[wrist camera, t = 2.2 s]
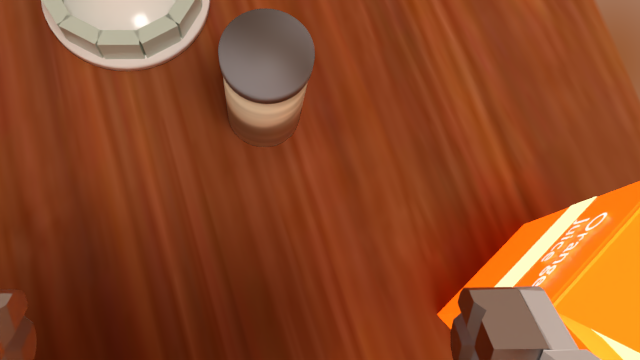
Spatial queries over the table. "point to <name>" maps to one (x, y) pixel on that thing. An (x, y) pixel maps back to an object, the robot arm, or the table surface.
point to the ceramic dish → (125, 22)
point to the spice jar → (265, 74)
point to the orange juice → (579, 271)
